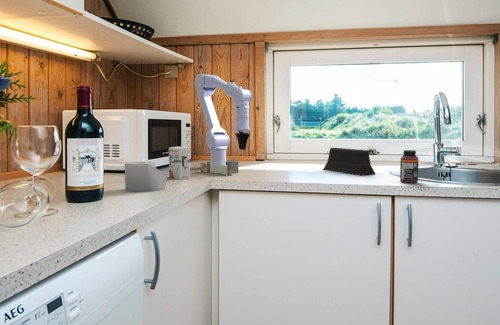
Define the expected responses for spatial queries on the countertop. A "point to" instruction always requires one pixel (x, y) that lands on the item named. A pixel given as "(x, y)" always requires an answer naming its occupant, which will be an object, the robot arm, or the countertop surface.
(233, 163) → the grey faceted block
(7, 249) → the countertop surface
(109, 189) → the countertop surface
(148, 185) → the grey sloped wedge
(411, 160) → the supplement bottle
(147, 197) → the countertop surface
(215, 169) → the pale green bar
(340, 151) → the black broom head
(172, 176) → the ink box
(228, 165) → the tan small pieces
